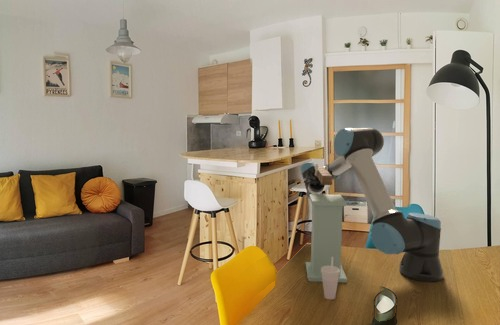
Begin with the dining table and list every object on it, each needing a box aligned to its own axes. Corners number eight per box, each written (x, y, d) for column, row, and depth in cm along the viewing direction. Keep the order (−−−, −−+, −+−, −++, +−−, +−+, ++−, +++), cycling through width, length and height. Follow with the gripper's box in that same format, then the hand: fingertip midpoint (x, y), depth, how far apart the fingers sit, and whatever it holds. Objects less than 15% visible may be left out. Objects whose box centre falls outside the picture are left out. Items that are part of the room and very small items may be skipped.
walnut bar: (315, 174, 155) (315, 166, 154) (323, 174, 154) (323, 166, 154) (322, 184, 129) (322, 175, 128) (331, 185, 129) (332, 175, 128)
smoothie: (339, 302, 112) (341, 261, 110) (319, 300, 113) (320, 259, 111) (338, 292, 118) (340, 253, 116) (319, 291, 119) (320, 252, 117)
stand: (305, 265, 140) (306, 193, 137) (340, 266, 139) (342, 194, 136) (308, 281, 127) (309, 201, 123) (346, 282, 125) (349, 202, 122)
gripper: (334, 192, 165) (342, 175, 143) (299, 192, 166) (302, 175, 145) (333, 178, 167) (341, 159, 146) (299, 177, 169) (302, 158, 147)
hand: (321, 167), depth 145 cm, fingers closed on walnut bar, 3 cm apart
